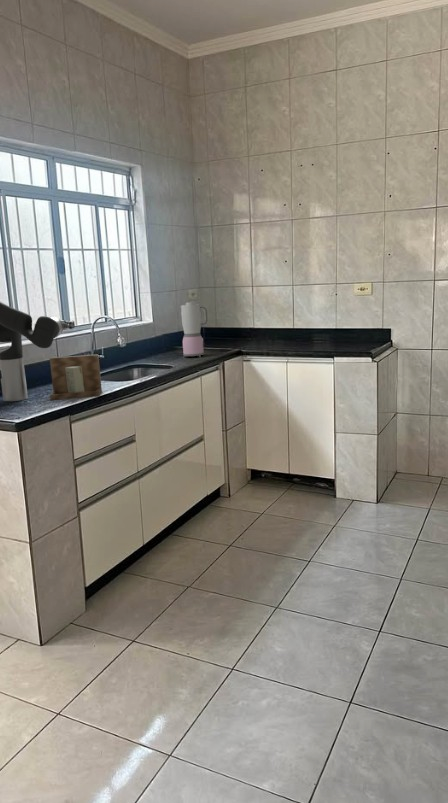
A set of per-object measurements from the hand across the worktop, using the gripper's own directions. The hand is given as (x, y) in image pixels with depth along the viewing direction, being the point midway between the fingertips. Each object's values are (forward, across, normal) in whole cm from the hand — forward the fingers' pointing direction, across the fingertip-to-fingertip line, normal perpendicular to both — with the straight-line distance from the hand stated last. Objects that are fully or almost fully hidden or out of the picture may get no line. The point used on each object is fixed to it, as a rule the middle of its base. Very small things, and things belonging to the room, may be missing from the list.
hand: (57, 324), depth 238 cm
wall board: (+13, -3, +31) cm, 34 cm away
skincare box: (+14, -3, +31) cm, 34 cm away
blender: (+117, -62, +33) cm, 137 cm away
